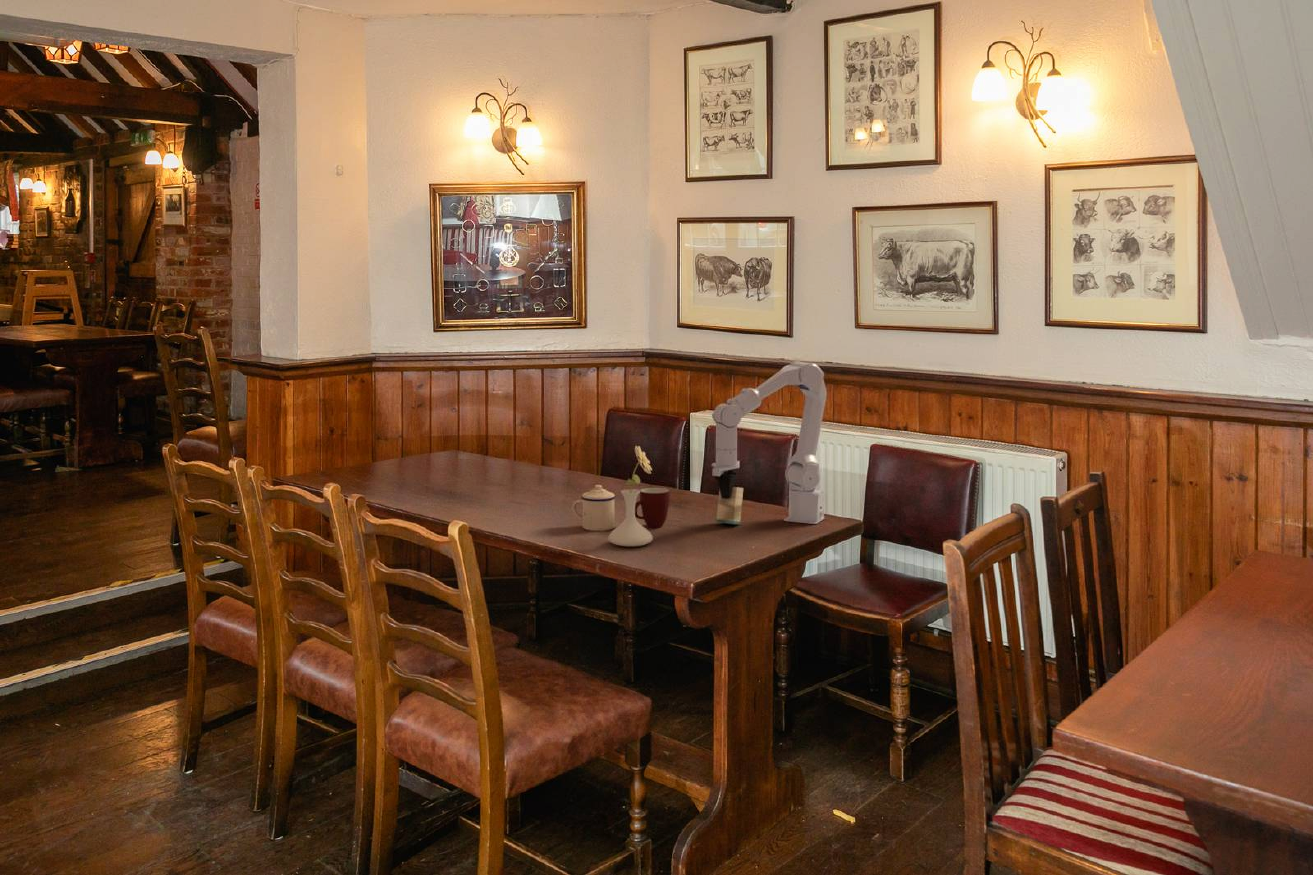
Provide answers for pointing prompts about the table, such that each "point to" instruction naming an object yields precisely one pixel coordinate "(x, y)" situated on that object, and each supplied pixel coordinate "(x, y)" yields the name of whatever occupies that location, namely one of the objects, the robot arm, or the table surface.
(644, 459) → the flower in vase
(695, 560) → the table surface
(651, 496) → the mug
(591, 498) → the teacup with lid
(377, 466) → the table surface
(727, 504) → the birch block
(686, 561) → the table surface
